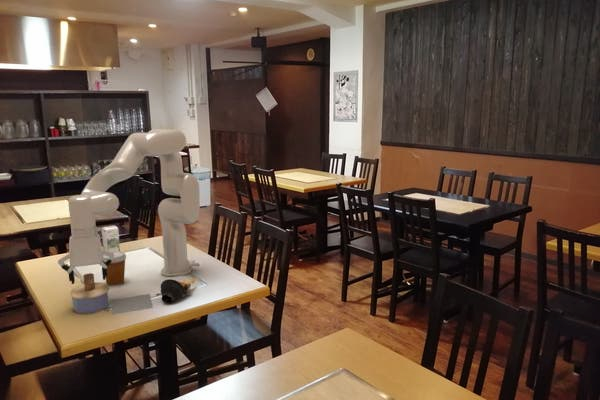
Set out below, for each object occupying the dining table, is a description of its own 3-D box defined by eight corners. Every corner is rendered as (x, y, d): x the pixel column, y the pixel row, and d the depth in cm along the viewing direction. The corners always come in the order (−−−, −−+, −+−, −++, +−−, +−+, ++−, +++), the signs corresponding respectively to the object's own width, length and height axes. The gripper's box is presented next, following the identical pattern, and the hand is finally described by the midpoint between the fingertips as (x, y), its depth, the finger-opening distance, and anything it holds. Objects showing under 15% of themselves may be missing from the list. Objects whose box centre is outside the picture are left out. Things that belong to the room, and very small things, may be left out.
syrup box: (115, 254, 215) (113, 224, 212) (120, 257, 210) (118, 227, 208) (103, 257, 211) (100, 226, 208) (108, 260, 207) (105, 229, 204)
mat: (149, 295, 167) (149, 293, 167) (152, 309, 155) (152, 307, 155) (111, 301, 162) (111, 299, 162) (112, 315, 150) (111, 314, 150)
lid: (109, 283, 163) (107, 267, 162) (109, 295, 152) (107, 278, 151) (71, 288, 158) (70, 271, 157) (69, 301, 147) (67, 283, 146)
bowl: (108, 299, 163) (107, 283, 162) (108, 311, 153) (107, 295, 152) (75, 304, 159) (73, 288, 158) (72, 317, 149) (70, 300, 148)
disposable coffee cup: (109, 290, 172) (106, 260, 169) (98, 283, 178) (95, 254, 176) (132, 283, 179) (130, 254, 176) (121, 277, 185) (119, 249, 183)
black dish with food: (149, 293, 157) (168, 262, 172) (167, 316, 161) (184, 283, 177) (170, 286, 154) (188, 255, 169) (188, 309, 158) (203, 276, 174)
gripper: (111, 227, 158) (115, 273, 161) (56, 232, 151) (61, 280, 155) (112, 232, 151) (116, 280, 154) (53, 237, 144) (59, 288, 148)
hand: (88, 280), depth 154 cm, fingers open, 9 cm apart
